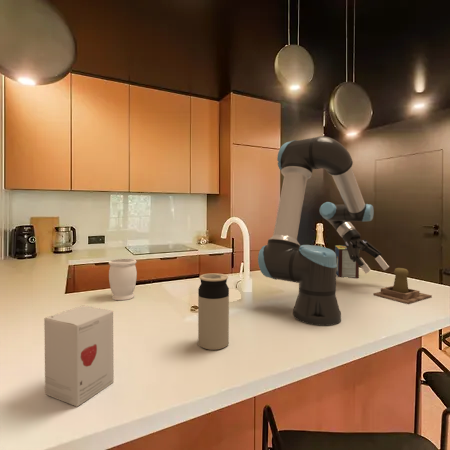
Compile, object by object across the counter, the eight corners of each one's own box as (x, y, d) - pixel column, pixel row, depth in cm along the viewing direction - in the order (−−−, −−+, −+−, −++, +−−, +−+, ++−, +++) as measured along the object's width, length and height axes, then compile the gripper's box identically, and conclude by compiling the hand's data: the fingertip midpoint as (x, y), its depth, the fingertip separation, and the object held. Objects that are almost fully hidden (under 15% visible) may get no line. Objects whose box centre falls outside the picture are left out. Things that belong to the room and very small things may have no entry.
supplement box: (76, 408, 53) (75, 325, 52) (43, 395, 56) (41, 317, 56) (115, 382, 61) (114, 309, 60) (84, 372, 65) (83, 303, 64)
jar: (115, 303, 113) (114, 263, 112) (105, 297, 120) (104, 260, 120) (141, 298, 120) (141, 260, 119) (130, 292, 127) (130, 257, 127)
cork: (411, 297, 120) (412, 270, 119) (395, 296, 121) (396, 269, 120) (405, 293, 126) (406, 267, 125) (390, 292, 127) (390, 266, 126)
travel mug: (204, 353, 73) (204, 280, 73) (194, 340, 81) (194, 274, 80) (233, 347, 77) (234, 278, 76) (221, 335, 84) (221, 272, 83)
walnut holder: (408, 304, 113) (408, 296, 113) (373, 295, 125) (373, 288, 125) (431, 297, 123) (431, 290, 122) (397, 289, 135) (397, 282, 134)
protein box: (353, 272, 172) (354, 245, 171) (358, 278, 157) (359, 249, 156) (334, 271, 174) (334, 245, 174) (337, 277, 159) (338, 248, 159)
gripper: (360, 237, 152) (388, 272, 140) (326, 239, 139) (354, 278, 127) (370, 227, 147) (399, 262, 135) (336, 229, 134) (365, 267, 122)
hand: (377, 270), depth 131 cm, fingers open, 13 cm apart
